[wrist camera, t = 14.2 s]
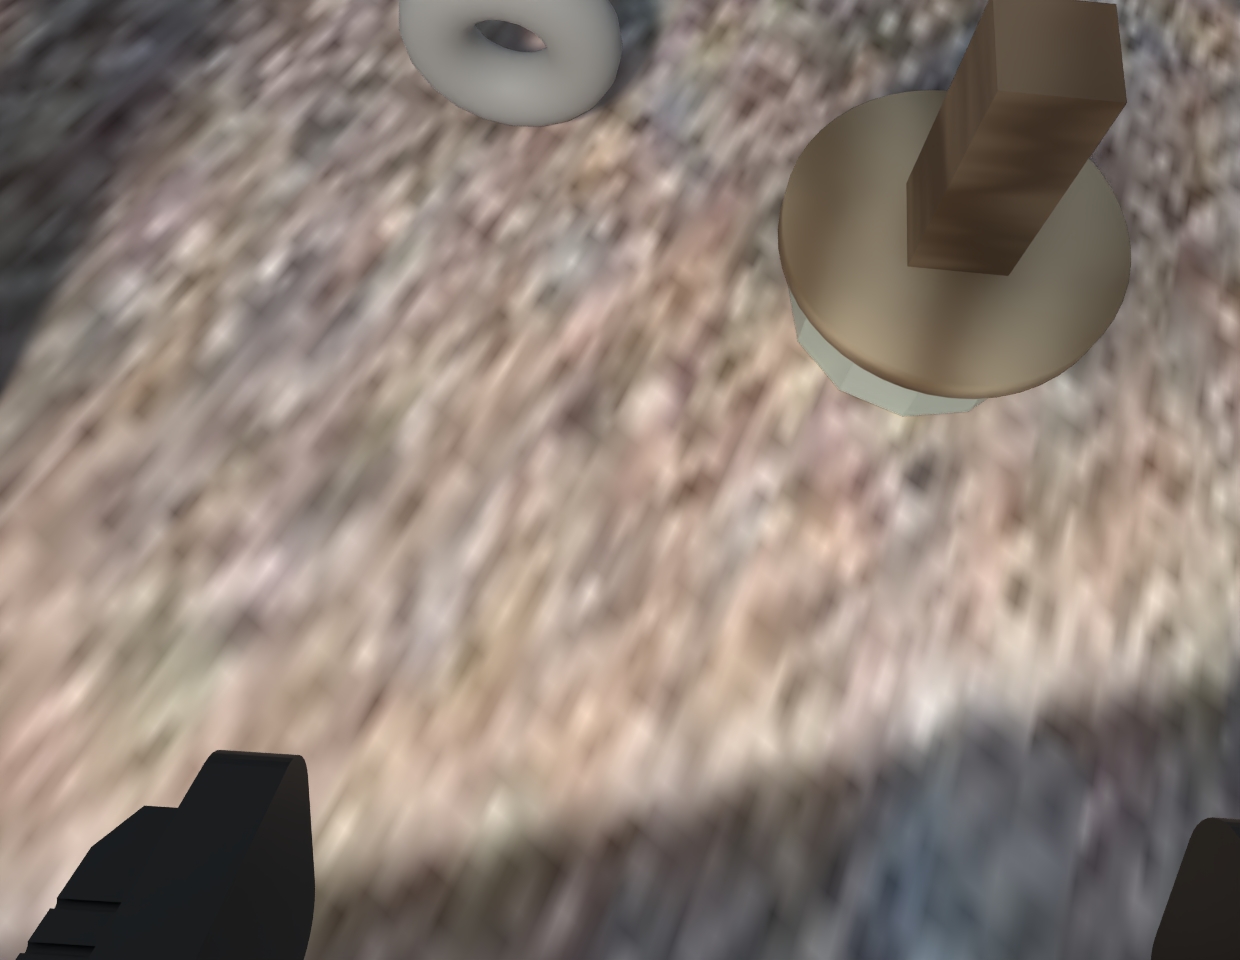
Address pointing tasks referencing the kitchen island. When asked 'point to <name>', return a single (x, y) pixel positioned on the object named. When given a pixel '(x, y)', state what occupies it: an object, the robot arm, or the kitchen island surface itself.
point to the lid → (970, 212)
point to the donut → (515, 56)
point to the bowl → (870, 377)
